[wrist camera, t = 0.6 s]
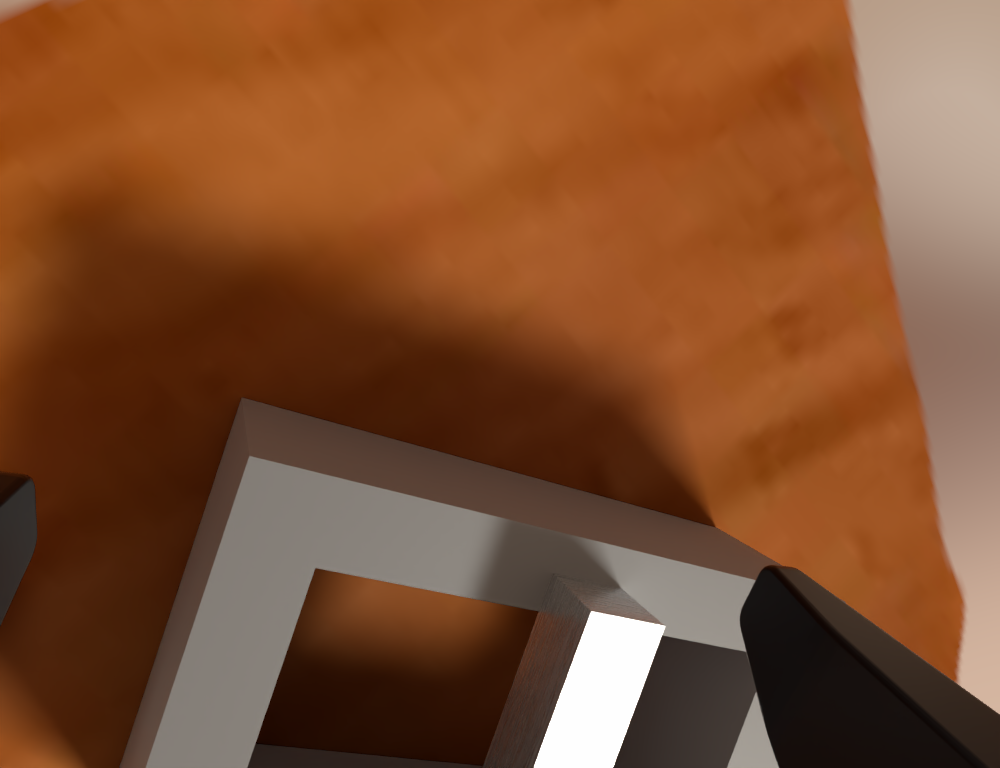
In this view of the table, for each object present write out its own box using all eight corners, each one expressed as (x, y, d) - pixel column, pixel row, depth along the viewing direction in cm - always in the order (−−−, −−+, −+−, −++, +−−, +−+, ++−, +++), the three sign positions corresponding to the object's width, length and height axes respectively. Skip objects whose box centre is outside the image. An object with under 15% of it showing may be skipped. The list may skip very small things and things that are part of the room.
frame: (604, 828, 28) (700, 976, 22) (109, 796, 21) (70, 994, 15) (717, 527, 27) (845, 602, 21) (241, 397, 20) (249, 455, 15)
